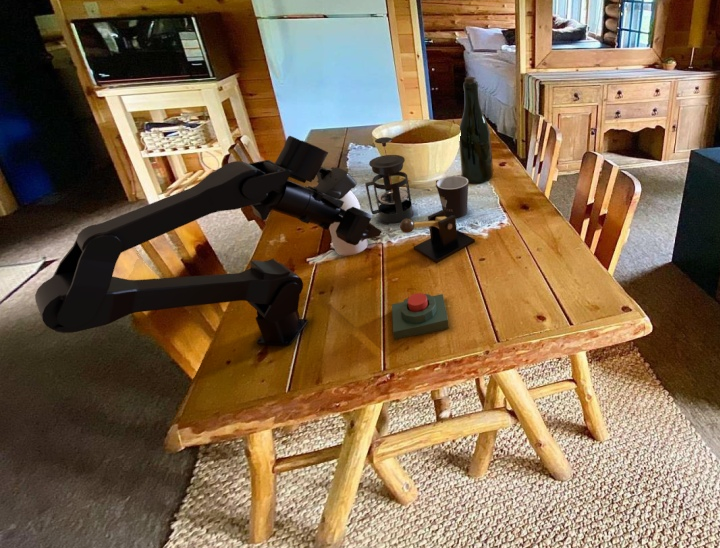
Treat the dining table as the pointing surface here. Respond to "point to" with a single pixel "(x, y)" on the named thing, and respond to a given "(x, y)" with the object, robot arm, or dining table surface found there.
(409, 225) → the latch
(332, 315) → the dining table surface
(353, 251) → the milk bottle
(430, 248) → the lever switch
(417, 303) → the button
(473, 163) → the wine bottle
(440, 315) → the button box
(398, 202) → the french press
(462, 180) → the coffee mug
